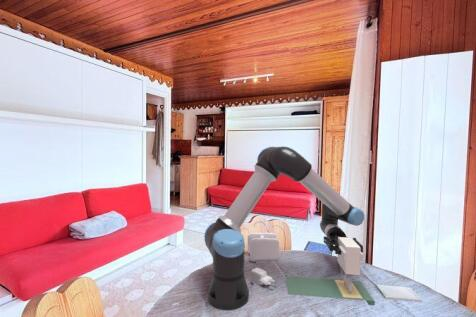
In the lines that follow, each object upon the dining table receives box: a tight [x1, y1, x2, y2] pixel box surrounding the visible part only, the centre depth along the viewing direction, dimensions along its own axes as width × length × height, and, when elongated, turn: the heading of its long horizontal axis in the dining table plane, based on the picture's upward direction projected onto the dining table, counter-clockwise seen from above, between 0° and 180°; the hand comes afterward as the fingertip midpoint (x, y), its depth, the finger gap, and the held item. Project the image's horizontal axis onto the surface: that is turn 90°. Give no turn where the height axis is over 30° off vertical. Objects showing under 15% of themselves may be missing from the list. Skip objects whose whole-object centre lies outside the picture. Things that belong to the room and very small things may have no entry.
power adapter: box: [250, 267, 279, 287], centre depth 94 cm, size 11×5×6 cm, turn 46°
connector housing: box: [337, 236, 362, 276], centre depth 90 cm, size 5×10×10 cm, turn 173°
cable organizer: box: [247, 232, 280, 263], centre depth 120 cm, size 15×11×12 cm
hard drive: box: [375, 284, 423, 303], centre depth 90 cm, size 2×8×12 cm
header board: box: [285, 273, 376, 306], centre depth 91 cm, size 30×13×6 cm, turn 83°
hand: (353, 257), depth 85 cm, fingers closed on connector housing, 5 cm apart
